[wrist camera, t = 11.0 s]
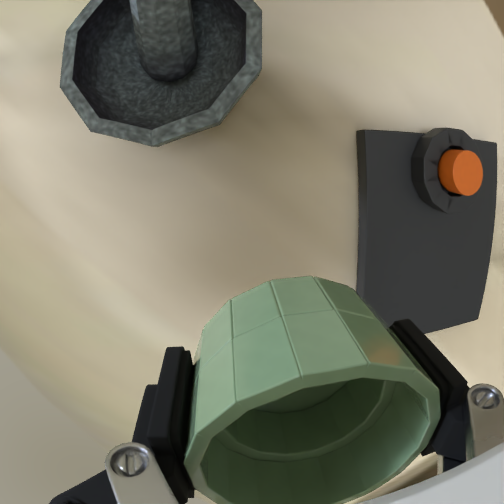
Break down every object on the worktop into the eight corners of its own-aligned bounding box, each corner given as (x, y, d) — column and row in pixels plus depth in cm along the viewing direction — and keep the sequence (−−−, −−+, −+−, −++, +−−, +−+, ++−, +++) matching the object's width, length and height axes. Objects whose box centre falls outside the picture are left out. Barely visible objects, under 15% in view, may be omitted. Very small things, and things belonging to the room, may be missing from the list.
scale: (355, 124, 20) (374, 120, 17) (486, 137, 20) (509, 138, 17) (352, 339, 25) (365, 360, 22) (469, 313, 25) (487, 327, 22)
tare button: (437, 148, 18) (452, 148, 16) (467, 150, 18) (483, 152, 16) (437, 192, 19) (452, 195, 17) (467, 192, 19) (482, 195, 17)
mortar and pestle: (249, 147, 20) (282, 136, 8) (107, 154, 19) (-10, 163, 7) (250, -5, 16) (275, -122, 5) (116, 5, 16) (43, -86, 4)
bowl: (182, 279, 10) (154, 385, 5) (383, 260, 10) (471, 335, 6) (210, 422, 12) (210, 522, 8) (363, 401, 13) (404, 487, 8)
